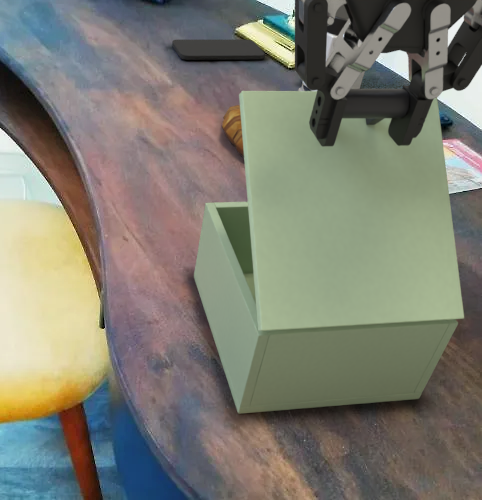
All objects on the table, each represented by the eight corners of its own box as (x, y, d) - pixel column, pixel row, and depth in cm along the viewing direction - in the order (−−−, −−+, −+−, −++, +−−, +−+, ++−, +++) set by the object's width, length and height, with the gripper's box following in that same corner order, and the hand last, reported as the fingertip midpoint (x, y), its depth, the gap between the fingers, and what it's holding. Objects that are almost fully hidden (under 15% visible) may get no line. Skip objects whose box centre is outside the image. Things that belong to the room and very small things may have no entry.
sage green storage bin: (193, 276, 64) (205, 202, 58) (341, 269, 66) (366, 198, 61) (238, 413, 51) (258, 335, 45) (419, 399, 53) (459, 323, 48)
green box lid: (238, 94, 48) (262, 64, 43) (430, 95, 50) (475, 67, 45) (257, 331, 46) (285, 330, 40) (457, 319, 48) (508, 316, 43)
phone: (267, 55, 109) (182, 55, 106) (266, 60, 110) (181, 60, 106) (252, 39, 115) (170, 39, 111) (251, 43, 115) (170, 44, 112)
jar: (319, 72, 107) (338, -2, 100) (365, 88, 104) (388, 12, 96) (293, 87, 101) (311, 10, 94) (341, 105, 98) (363, 25, 90)
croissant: (283, 168, 81) (291, 133, 78) (230, 168, 81) (237, 132, 77) (256, 118, 92) (263, 85, 89) (209, 117, 91) (215, 84, 88)
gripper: (352, -126, 31) (280, 171, 42) (613, -112, 33) (480, 167, 44) (301, -153, 37) (249, 115, 48) (527, -139, 39) (428, 114, 50)
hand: (361, 139), depth 46 cm, fingers closed on green box lid, 5 cm apart
